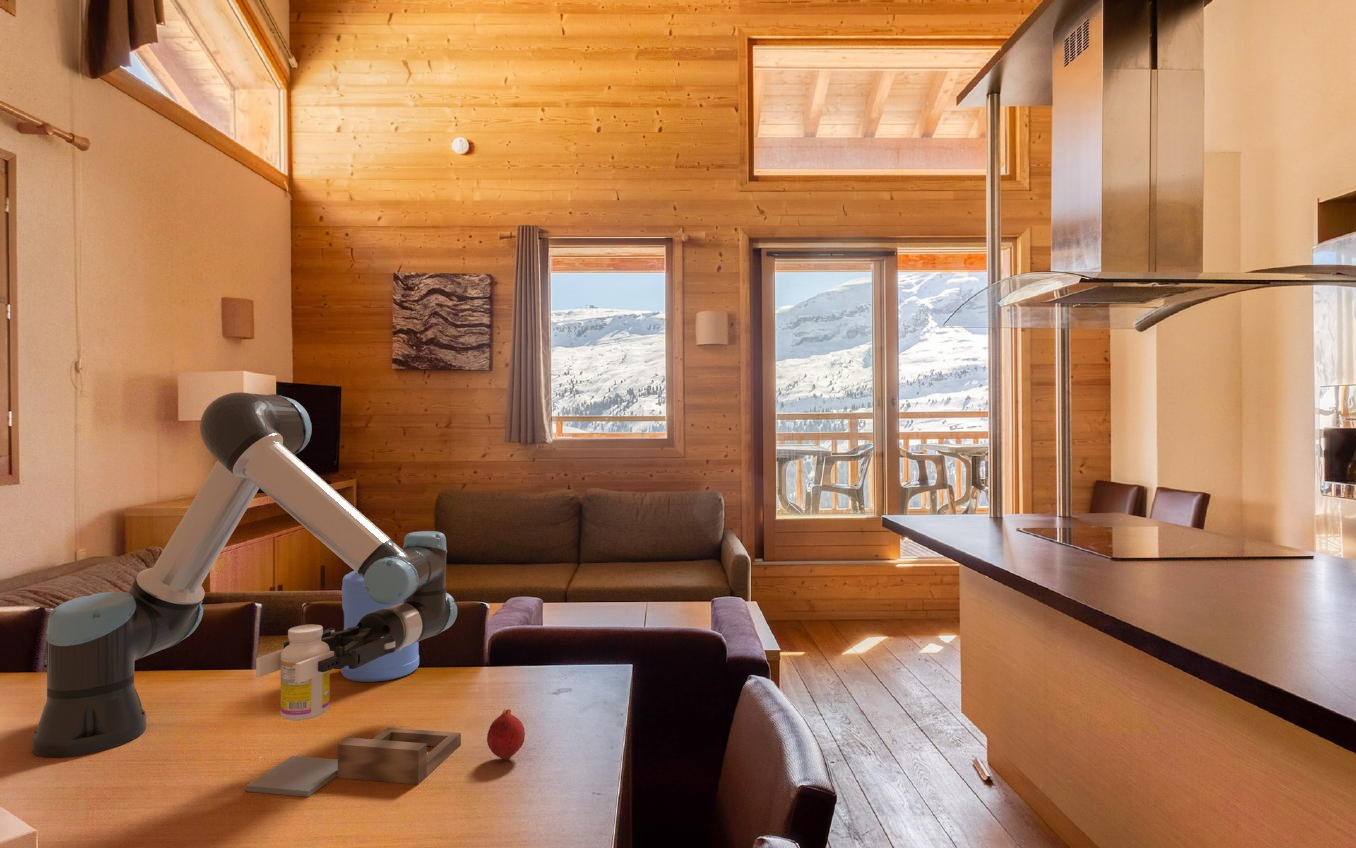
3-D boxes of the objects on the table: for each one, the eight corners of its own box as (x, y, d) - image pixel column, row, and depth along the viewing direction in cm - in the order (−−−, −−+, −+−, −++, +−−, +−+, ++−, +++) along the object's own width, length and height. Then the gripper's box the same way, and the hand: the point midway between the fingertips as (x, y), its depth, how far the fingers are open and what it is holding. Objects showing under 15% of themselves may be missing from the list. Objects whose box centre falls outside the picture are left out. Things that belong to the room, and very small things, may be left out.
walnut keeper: (337, 777, 112) (337, 744, 112) (388, 739, 126) (388, 709, 126) (418, 784, 110) (418, 750, 110) (460, 745, 124) (461, 714, 124)
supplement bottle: (316, 702, 117) (318, 620, 117) (337, 712, 113) (338, 627, 113) (272, 714, 112) (273, 628, 112) (291, 726, 108) (293, 636, 108)
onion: (515, 769, 115) (515, 717, 115) (480, 766, 116) (480, 714, 116) (530, 753, 121) (530, 704, 121) (497, 750, 122) (497, 701, 122)
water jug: (434, 667, 164) (435, 539, 164) (371, 688, 151) (372, 549, 151) (388, 656, 172) (389, 534, 172) (325, 675, 159) (326, 543, 159)
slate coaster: (245, 791, 108) (245, 785, 108) (292, 761, 118) (292, 755, 118) (308, 797, 106) (308, 791, 106) (350, 765, 116) (350, 760, 116)
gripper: (435, 658, 126) (331, 705, 104) (342, 646, 133) (226, 688, 111) (435, 613, 126) (331, 651, 105) (343, 603, 133) (227, 637, 111)
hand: (277, 670), depth 108 cm, fingers closed on supplement bottle, 7 cm apart
